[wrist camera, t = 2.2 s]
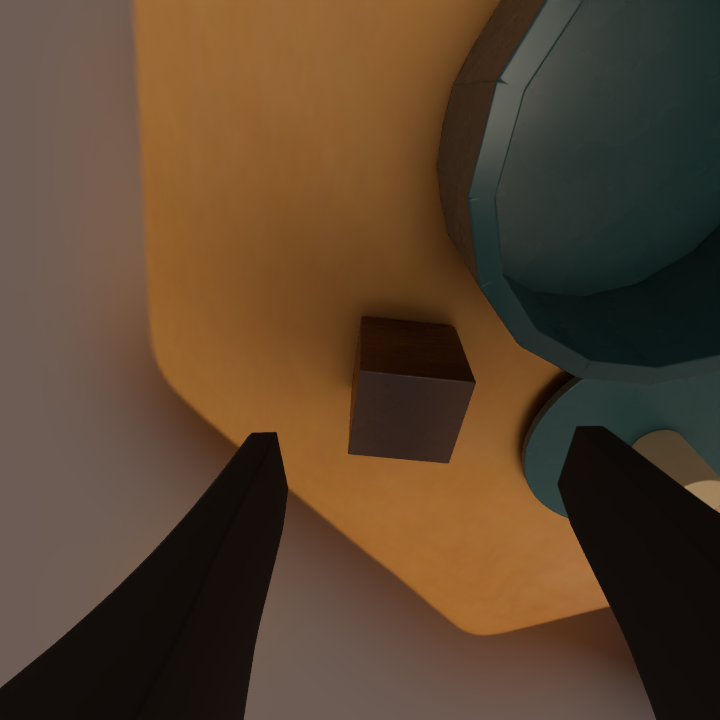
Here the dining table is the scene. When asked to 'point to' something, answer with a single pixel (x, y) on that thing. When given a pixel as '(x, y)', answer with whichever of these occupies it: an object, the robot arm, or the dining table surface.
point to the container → (593, 182)
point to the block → (408, 391)
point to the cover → (632, 431)
